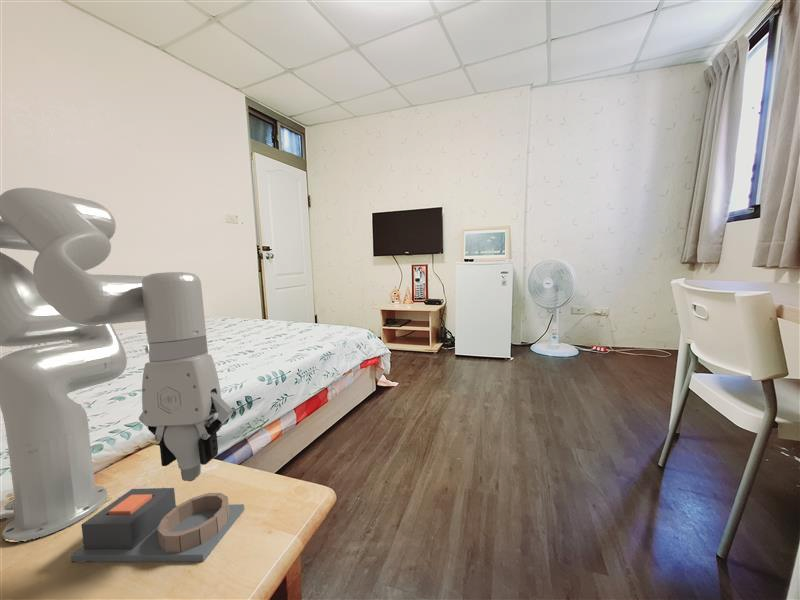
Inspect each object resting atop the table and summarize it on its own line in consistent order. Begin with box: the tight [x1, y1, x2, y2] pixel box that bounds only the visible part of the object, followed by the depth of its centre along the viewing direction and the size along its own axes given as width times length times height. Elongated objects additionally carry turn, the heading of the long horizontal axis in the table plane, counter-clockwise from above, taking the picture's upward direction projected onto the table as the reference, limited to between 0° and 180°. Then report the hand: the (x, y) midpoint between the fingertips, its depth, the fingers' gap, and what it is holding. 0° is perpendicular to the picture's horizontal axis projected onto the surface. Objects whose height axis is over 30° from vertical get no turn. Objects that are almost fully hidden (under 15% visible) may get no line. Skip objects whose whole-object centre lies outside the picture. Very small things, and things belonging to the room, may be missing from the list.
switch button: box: [108, 494, 152, 515], centre depth 49 cm, size 4×4×4 cm
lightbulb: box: [164, 420, 209, 482], centre depth 48 cm, size 6×6×11 cm
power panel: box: [70, 487, 245, 563], centre depth 48 cm, size 21×10×5 cm, turn 87°
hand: (190, 459), depth 48 cm, fingers closed on lightbulb, 5 cm apart
